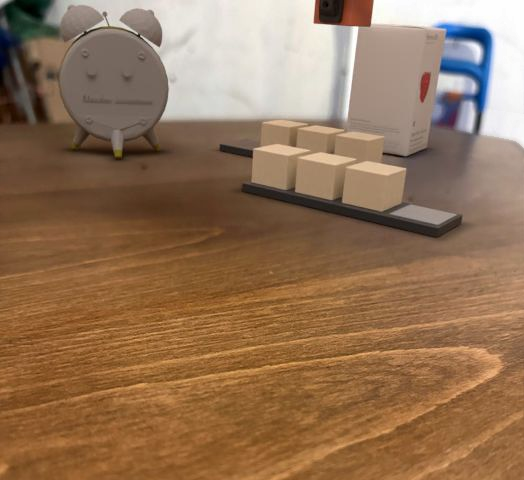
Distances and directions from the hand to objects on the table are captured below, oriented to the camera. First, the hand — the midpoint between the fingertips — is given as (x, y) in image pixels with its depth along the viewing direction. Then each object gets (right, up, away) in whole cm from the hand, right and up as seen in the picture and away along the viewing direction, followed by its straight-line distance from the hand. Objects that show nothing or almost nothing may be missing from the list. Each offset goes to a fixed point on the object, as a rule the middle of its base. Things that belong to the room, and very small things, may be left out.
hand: (342, 22), depth 63 cm
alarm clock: (-24, -9, +14) cm, 29 cm away
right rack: (0, -18, -1) cm, 18 cm away
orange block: (0, 0, 0) cm, 0 cm away
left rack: (-3, -8, +16) cm, 18 cm away
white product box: (+9, -4, +27) cm, 29 cm away
